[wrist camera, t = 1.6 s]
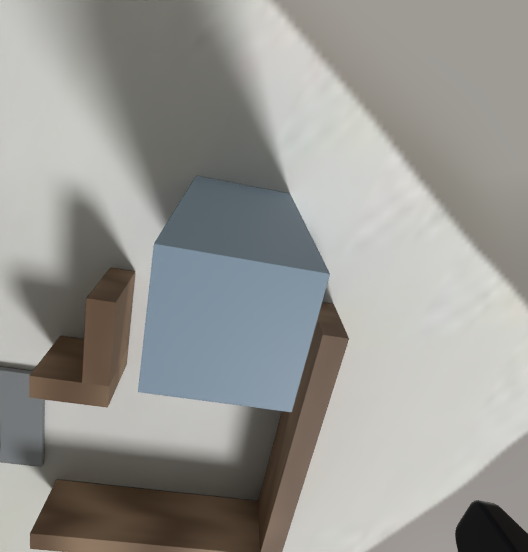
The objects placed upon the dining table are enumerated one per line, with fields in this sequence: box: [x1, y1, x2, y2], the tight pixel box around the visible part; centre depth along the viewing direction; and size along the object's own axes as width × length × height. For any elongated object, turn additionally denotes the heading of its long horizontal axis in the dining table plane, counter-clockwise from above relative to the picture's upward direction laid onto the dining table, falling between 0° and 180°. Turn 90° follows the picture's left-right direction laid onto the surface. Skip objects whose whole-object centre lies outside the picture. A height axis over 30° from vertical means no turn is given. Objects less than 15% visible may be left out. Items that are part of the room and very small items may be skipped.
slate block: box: [138, 176, 330, 412], centre depth 16 cm, size 4×4×10 cm
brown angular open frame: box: [29, 268, 349, 552], centre depth 23 cm, size 14×16×4 cm
